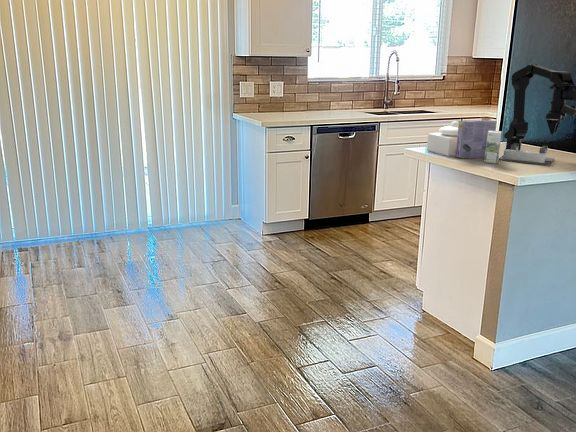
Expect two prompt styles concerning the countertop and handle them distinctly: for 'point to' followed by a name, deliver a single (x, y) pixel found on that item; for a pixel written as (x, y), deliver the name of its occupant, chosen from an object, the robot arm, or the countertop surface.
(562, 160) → the countertop surface
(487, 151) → the syrup box
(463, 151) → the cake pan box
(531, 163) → the mat
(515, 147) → the hook posts
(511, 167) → the countertop surface
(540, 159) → the steel bar
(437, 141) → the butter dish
